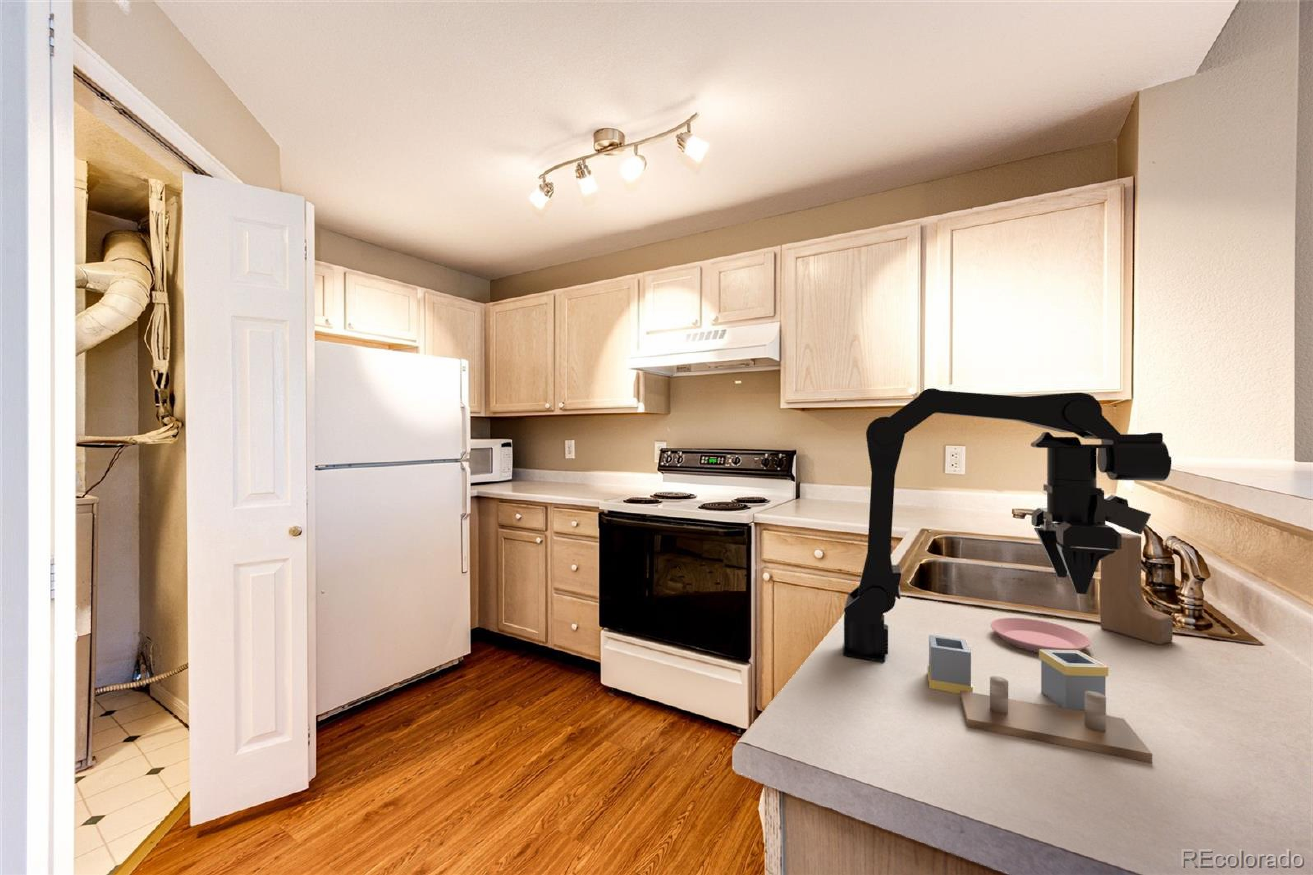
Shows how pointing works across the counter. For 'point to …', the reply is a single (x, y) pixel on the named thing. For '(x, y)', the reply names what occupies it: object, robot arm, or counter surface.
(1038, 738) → the pin board
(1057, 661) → the sleeve band up
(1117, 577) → the wooden block
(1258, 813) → the counter surface
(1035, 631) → the plate
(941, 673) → the sleeve band down
